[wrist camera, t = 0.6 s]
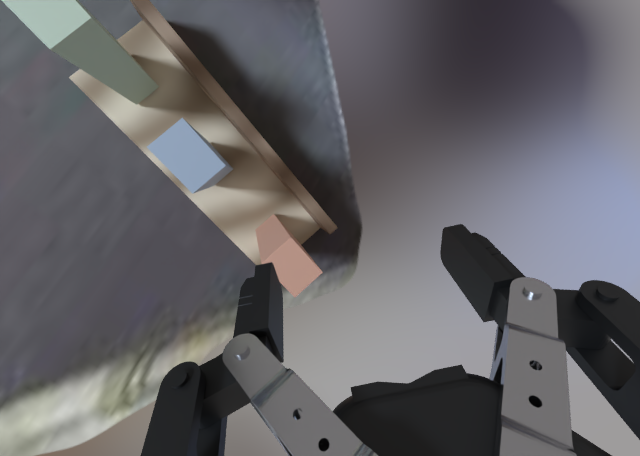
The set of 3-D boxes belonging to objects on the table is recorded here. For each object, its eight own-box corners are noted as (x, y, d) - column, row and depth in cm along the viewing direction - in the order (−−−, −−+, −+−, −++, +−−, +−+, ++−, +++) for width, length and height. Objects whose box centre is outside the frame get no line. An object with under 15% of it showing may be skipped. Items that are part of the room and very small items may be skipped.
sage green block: (104, 70, 29) (-17, -19, 15) (128, 52, 29) (28, -52, 16) (136, 104, 30) (50, 49, 17) (159, 86, 30) (91, 17, 17)
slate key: (187, 158, 32) (146, 146, 19) (208, 141, 32) (182, 117, 19) (213, 185, 33) (192, 193, 20) (233, 169, 33) (225, 165, 20)
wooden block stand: (74, 80, 29) (37, 60, 24) (155, 17, 30) (136, -16, 25) (266, 273, 38) (269, 288, 33) (325, 220, 39) (337, 227, 34)
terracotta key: (255, 229, 35) (261, 263, 22) (273, 213, 36) (290, 237, 22) (276, 252, 37) (295, 297, 23) (294, 236, 37) (322, 272, 23)
